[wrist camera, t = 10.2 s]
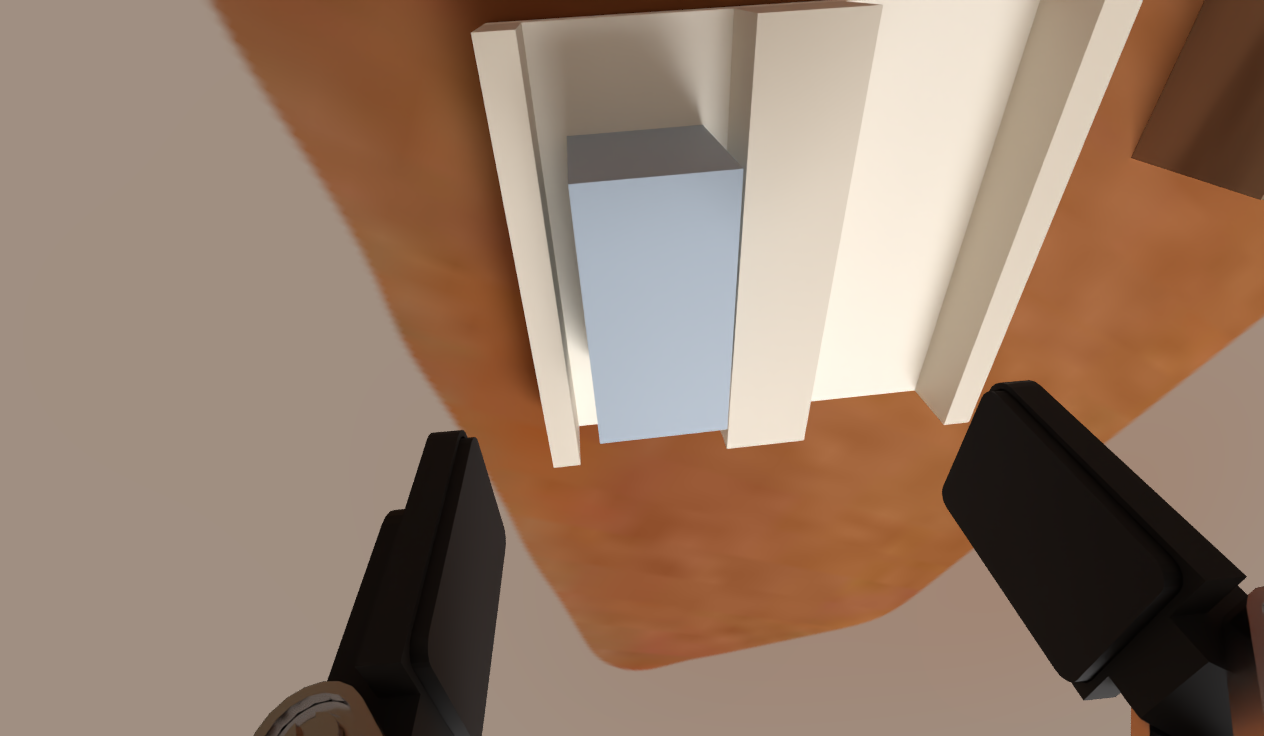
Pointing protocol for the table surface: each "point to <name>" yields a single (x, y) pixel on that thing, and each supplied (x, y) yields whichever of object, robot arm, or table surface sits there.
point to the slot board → (887, 169)
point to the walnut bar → (1214, 102)
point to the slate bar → (657, 276)
